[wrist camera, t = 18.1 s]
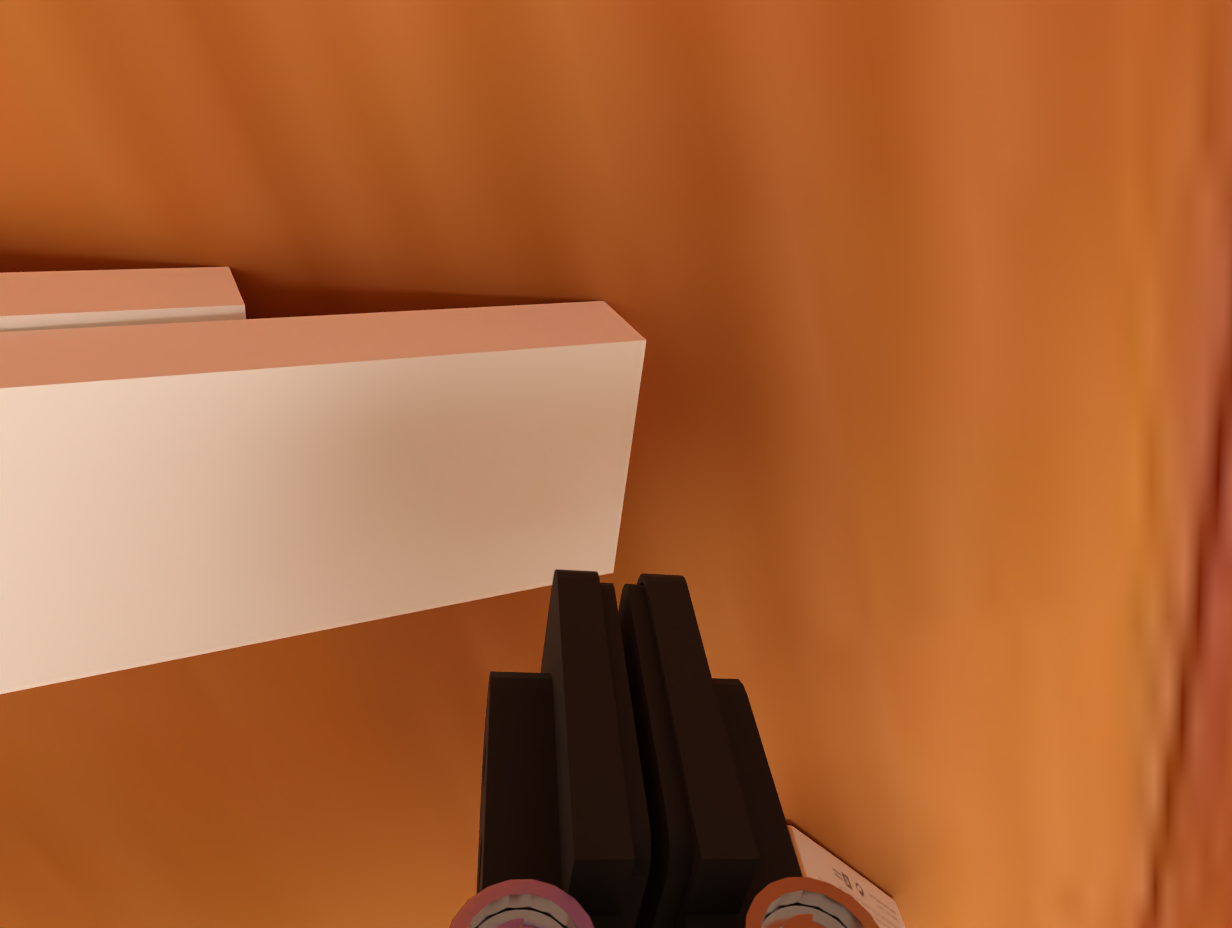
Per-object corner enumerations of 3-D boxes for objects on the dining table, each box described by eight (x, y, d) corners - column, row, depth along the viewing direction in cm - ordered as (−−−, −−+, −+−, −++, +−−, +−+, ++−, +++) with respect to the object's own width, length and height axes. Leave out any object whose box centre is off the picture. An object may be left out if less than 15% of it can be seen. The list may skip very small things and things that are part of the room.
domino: (646, 340, 14) (-212, 403, 10) (613, 572, 17) (-74, 709, 12) (603, 301, 15) (-165, 340, 11) (579, 521, 18) (-50, 626, 13)
